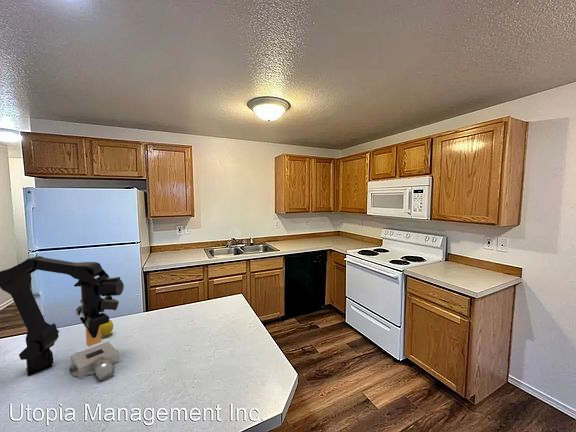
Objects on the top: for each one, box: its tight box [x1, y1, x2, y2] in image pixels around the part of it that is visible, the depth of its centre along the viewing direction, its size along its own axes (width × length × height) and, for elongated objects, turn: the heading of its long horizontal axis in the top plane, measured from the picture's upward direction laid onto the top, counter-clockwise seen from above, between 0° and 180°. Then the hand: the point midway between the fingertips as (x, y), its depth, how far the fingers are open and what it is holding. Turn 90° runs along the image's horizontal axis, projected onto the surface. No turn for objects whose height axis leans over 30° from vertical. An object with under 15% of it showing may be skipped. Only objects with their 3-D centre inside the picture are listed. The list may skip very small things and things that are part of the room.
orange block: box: [85, 326, 102, 348], centre depth 96 cm, size 4×2×8 cm, turn 141°
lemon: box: [100, 319, 114, 337], centre depth 116 cm, size 6×6×8 cm
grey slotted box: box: [69, 341, 120, 381], centre depth 94 cm, size 15×22×5 cm
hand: (93, 336), depth 96 cm, fingers closed on orange block, 2 cm apart
